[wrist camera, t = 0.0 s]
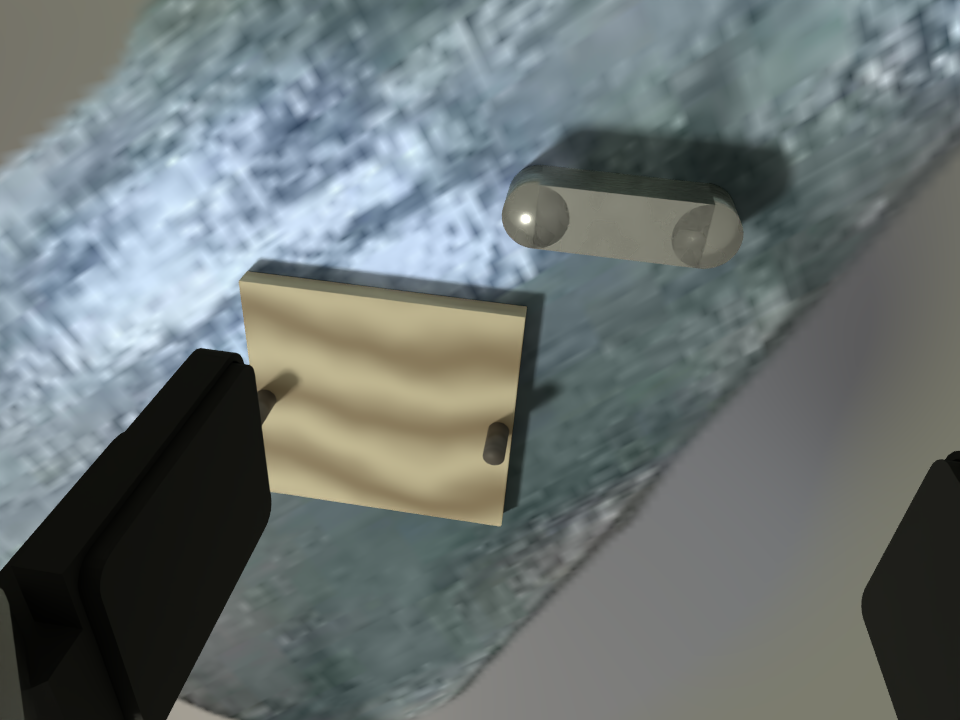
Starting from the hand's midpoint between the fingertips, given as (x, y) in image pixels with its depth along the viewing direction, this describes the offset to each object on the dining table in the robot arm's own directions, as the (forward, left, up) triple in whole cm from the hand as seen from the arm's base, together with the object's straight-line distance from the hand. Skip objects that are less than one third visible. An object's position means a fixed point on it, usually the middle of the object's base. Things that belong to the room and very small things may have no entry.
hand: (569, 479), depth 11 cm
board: (+28, -12, -37) cm, 48 cm away
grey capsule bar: (+10, +3, -37) cm, 38 cm away
